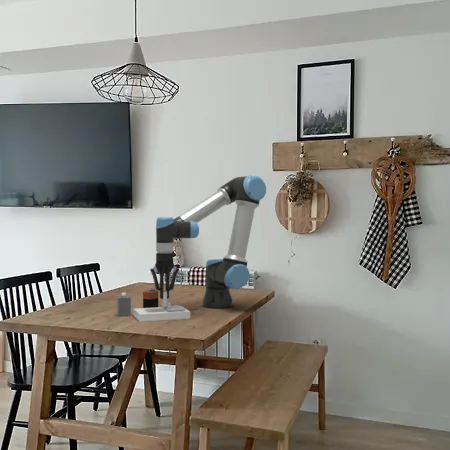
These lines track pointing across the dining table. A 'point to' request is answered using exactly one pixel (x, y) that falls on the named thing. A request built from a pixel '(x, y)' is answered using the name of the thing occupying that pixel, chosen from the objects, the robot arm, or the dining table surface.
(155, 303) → the battery
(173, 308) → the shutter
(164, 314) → the faceplate
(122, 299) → the plug
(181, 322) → the dining table surface
